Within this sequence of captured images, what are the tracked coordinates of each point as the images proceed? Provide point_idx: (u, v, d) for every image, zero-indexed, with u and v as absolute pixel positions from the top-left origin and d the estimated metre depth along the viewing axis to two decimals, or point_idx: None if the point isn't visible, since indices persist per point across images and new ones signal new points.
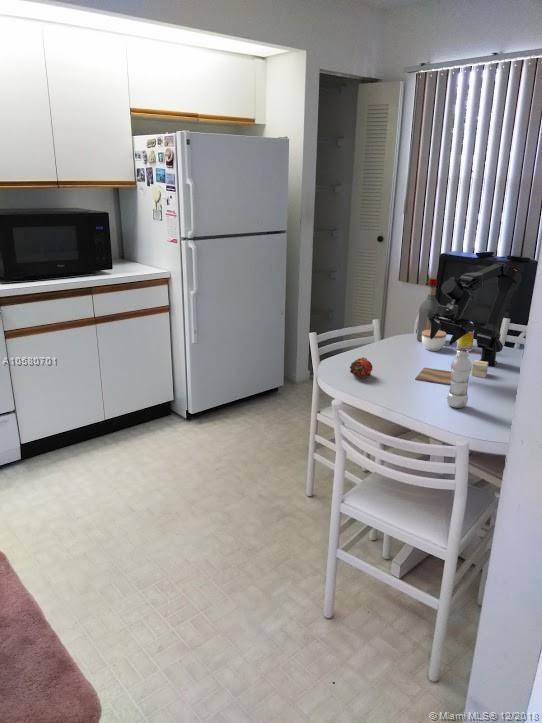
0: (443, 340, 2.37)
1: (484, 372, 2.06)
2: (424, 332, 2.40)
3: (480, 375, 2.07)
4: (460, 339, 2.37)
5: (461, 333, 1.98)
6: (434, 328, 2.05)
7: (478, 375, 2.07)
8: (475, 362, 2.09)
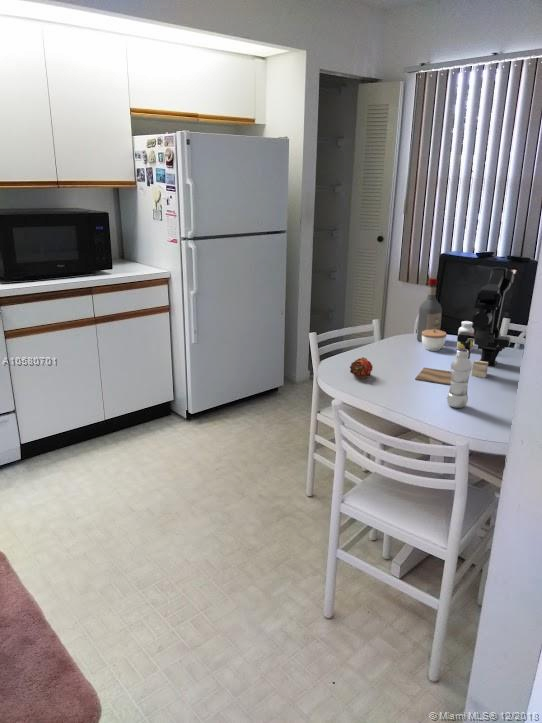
0: (443, 340, 2.37)
1: (484, 372, 2.06)
2: (424, 332, 2.40)
3: (480, 375, 2.07)
4: None
5: None
6: (469, 348, 2.08)
7: (478, 375, 2.07)
8: (475, 362, 2.09)
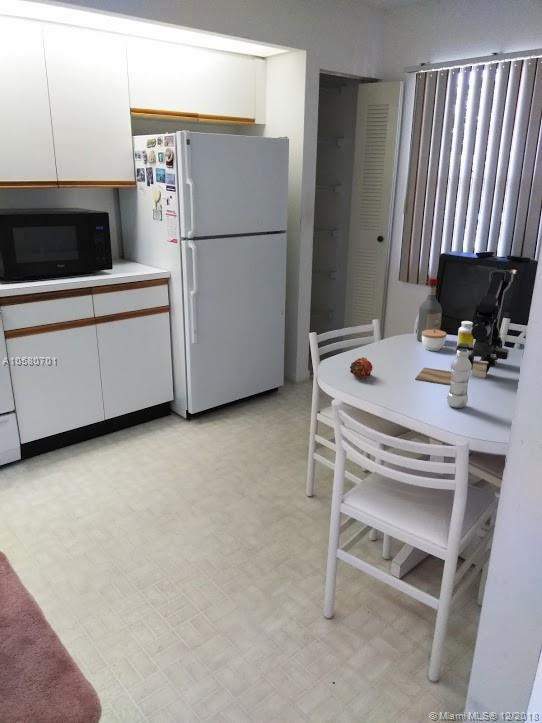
0: (443, 340, 2.37)
1: (484, 372, 2.06)
2: (424, 332, 2.40)
3: (480, 374, 2.07)
4: (460, 339, 2.37)
5: None
6: (472, 361, 2.09)
7: (478, 375, 2.07)
8: (475, 362, 2.09)
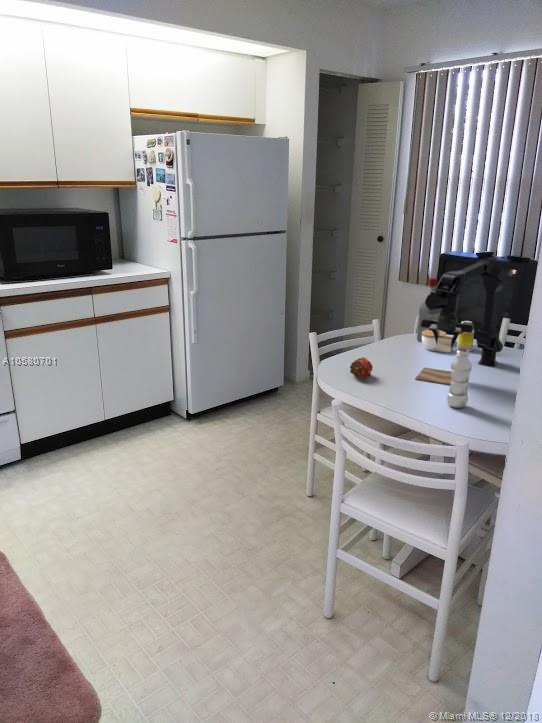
0: None
1: (449, 346, 2.00)
2: (424, 332, 2.40)
3: (445, 349, 2.01)
4: (460, 339, 2.37)
5: None
6: (437, 335, 2.03)
7: (443, 349, 2.02)
8: (440, 336, 2.03)
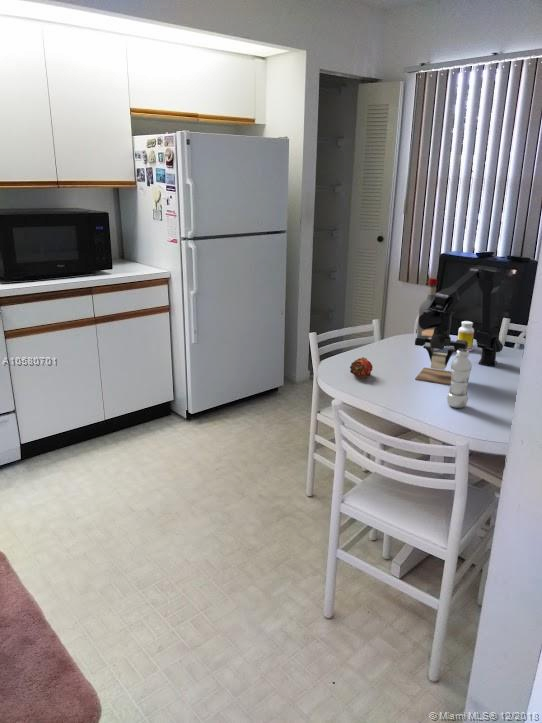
0: None
1: (443, 364, 2.03)
2: (424, 332, 2.40)
3: (439, 367, 2.04)
4: (460, 339, 2.37)
5: None
6: (432, 353, 2.06)
7: (437, 367, 2.04)
8: (434, 354, 2.06)
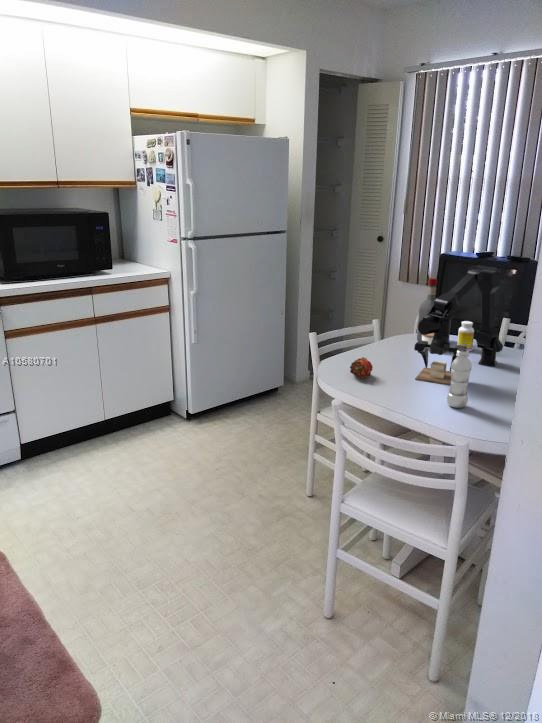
0: None
1: (442, 373, 2.04)
2: None
3: (438, 375, 2.05)
4: (460, 339, 2.37)
5: None
6: (426, 357, 2.07)
7: (436, 376, 2.05)
8: (433, 362, 2.07)
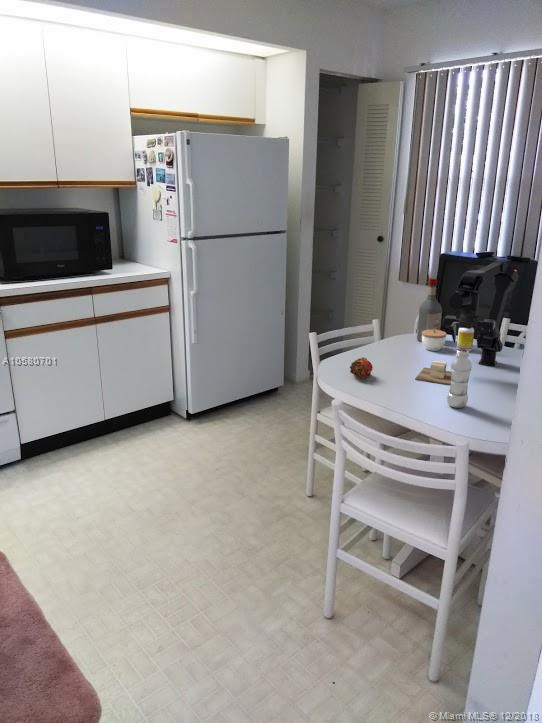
0: (443, 340, 2.37)
1: (442, 373, 2.04)
2: (424, 332, 2.40)
3: (438, 375, 2.05)
4: (460, 339, 2.37)
5: None
6: (454, 332, 2.08)
7: (436, 376, 2.05)
8: (433, 362, 2.07)
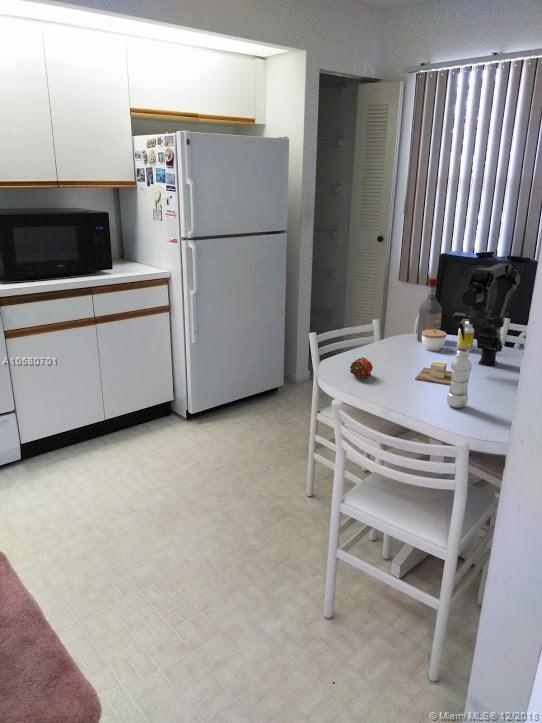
0: (443, 340, 2.37)
1: (442, 373, 2.04)
2: (424, 332, 2.40)
3: (438, 375, 2.05)
4: (460, 339, 2.37)
5: None
6: (463, 329, 2.09)
7: (436, 376, 2.05)
8: (433, 362, 2.07)
